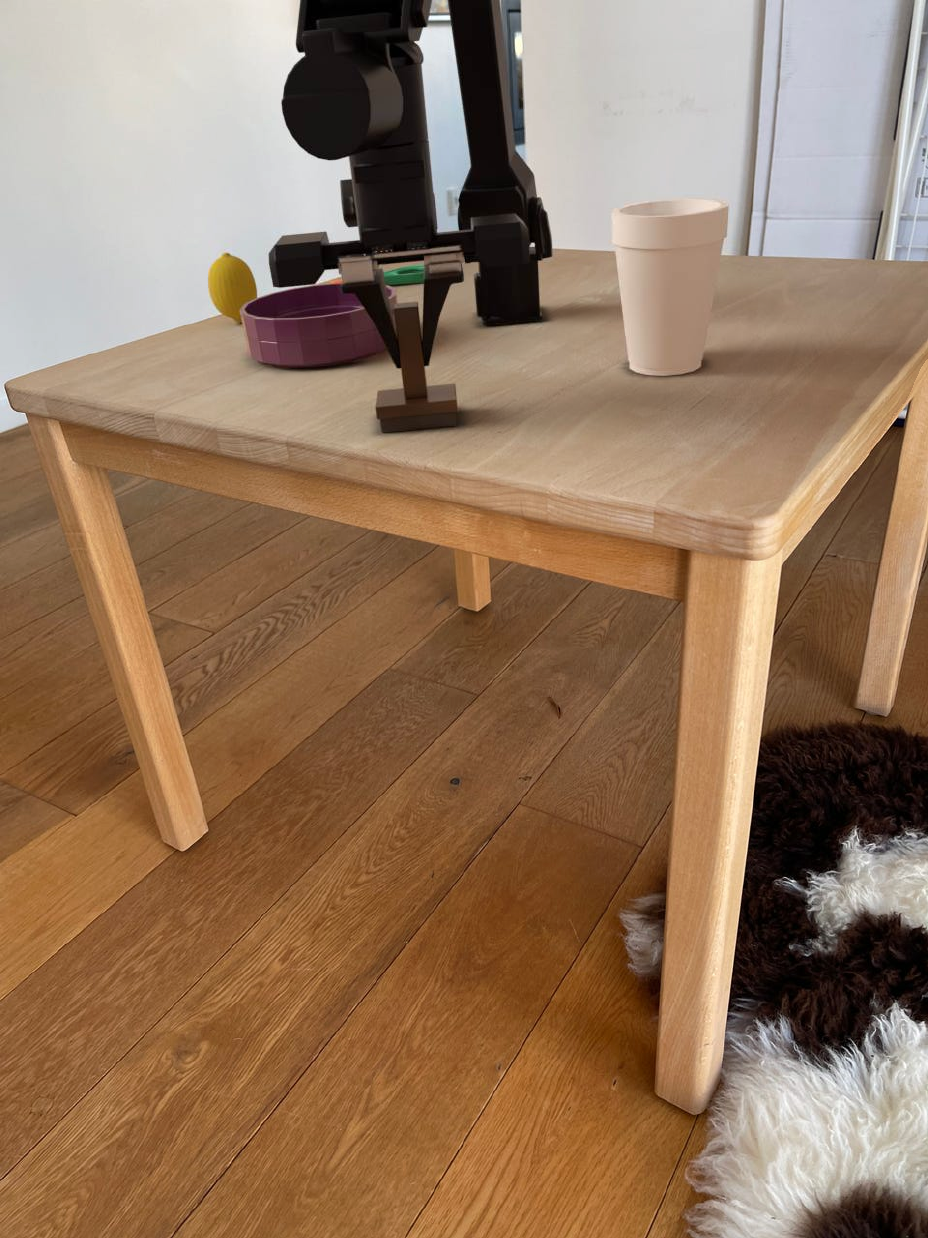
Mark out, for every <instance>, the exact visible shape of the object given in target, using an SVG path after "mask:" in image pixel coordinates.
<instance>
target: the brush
mask: <svg viewBox="0 0 928 1238" xmlns="http://www.w3.org/2000/svg"><path fill="white" fill-rule="evenodd" d="M419 308H420V307H419V301H409V302H398V303H397V304H395V307H394V313H395V321H396V329H397V338H398V346H399V352H400V363H401V369H400V370H401V371H400V372H401V378H402V379H401V380H402V386H403V387H402V388H391V389H390V388H389V389H381V390H380V389H379V390H377V394H376V401H375V407H374V408H375V415H376V420H379V424H380V430H381V434H382V433H383V434H384V433H394V432H404V431H417V430H426V429H438V428H448V427H456V426H457V414H456V413H458V412H459V408H458V397H457V387H456V385H457V384H456V383H444V384H434V385H428V384H427V373H426V366H424V360H423V353H422V328H421V327H422V326H421V318H420V309H419Z"/></svg>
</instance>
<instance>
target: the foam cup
mask: <svg viewBox="0 0 928 1238" xmlns="http://www.w3.org/2000/svg"><path fill="white" fill-rule="evenodd" d="M729 207H730V206H729V202H728V201H724V200H719V199H715V198H714V199H713V198H670V199H659V200H658V199H657V200H648V201H640V202H636V203H630V204H624V205H622V206H619V207H615V208H613V209H612V211H611V244H613V247H614V254H615V260H616V269H617V270H616V271H617V278H618V288H619V295H620V300H621V301H620V302H621V303H620V304H621V310H622V319H623V327H624V336H625V344H626V351H627V359H628V362H629V370H631V371H633V372H634V373H637V374H640V375H646V376H656V377H657V376H660V377H661V376H662V377H667V376H668V377H669V376H678V375H685V374H688V373H692V372H695V371H697V370H698V369H700V368H701V367H702V360H703V359H704V354H705V347H706V342H707V337H708V330H709V326H710V325H709V324H710V320H711V314H712V309H713V303H714V297H715V292H716V286H717V280H718V275H719V271H720V270H719V269H720V263H721V258H722V252H723V247H724V241H725V239H726V238H727V237H728V224H729V223H728V222H729Z"/></svg>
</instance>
